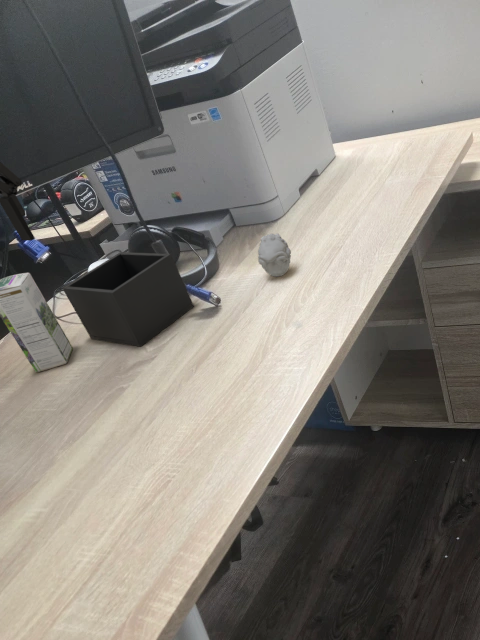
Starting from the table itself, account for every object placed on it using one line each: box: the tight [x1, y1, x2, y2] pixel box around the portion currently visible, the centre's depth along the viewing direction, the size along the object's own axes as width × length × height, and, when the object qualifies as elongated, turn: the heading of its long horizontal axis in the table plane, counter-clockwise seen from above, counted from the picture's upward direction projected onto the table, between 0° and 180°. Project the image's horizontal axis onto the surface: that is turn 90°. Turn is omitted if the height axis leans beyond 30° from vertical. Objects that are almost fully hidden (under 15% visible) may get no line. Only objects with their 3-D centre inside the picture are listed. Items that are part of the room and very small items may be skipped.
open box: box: [62, 251, 195, 348], centre depth 113 cm, size 14×14×10 cm
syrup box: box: [0, 272, 74, 373], centre depth 108 cm, size 6×6×14 cm
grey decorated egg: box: [257, 233, 292, 277], centre depth 117 cm, size 6×7×7 cm
